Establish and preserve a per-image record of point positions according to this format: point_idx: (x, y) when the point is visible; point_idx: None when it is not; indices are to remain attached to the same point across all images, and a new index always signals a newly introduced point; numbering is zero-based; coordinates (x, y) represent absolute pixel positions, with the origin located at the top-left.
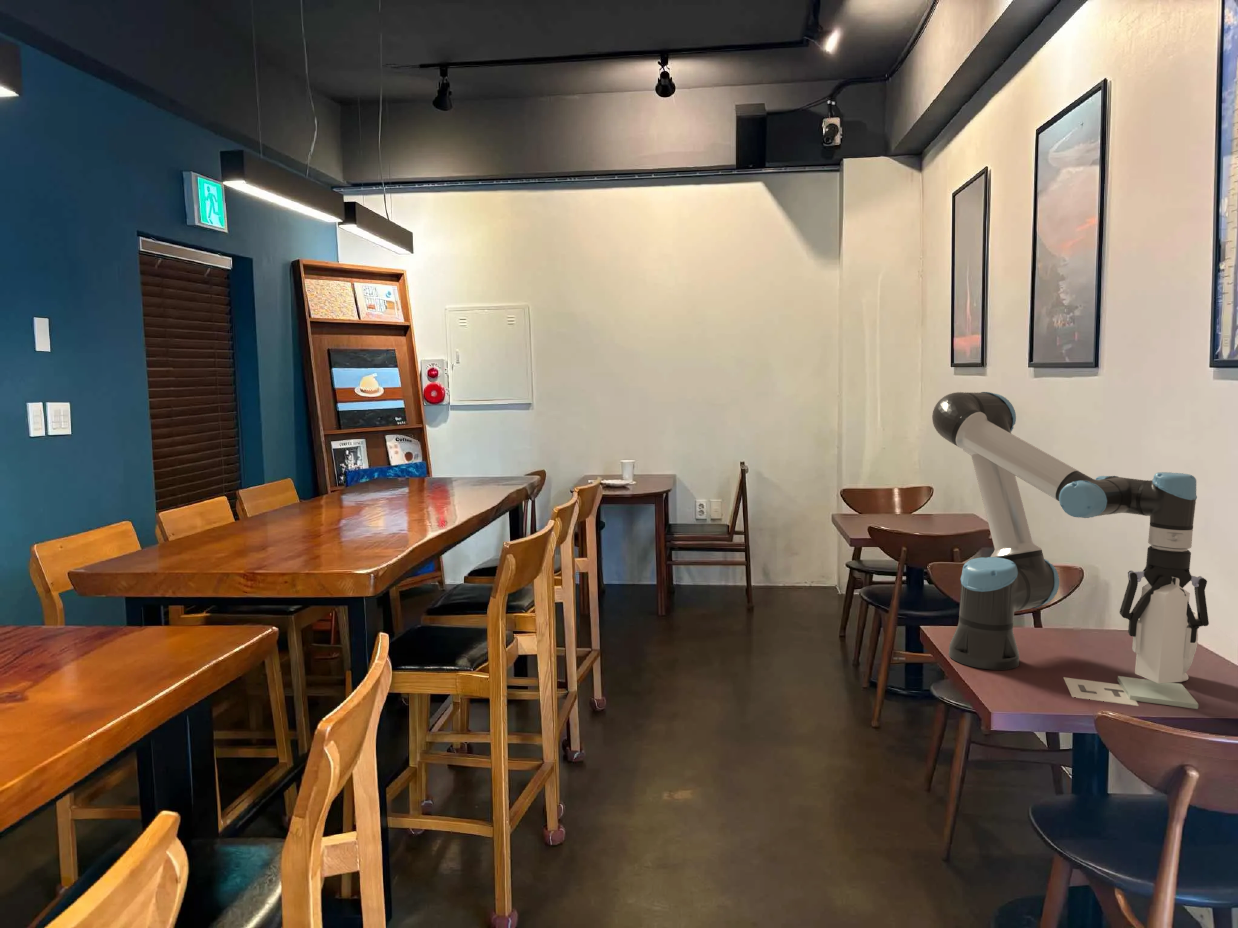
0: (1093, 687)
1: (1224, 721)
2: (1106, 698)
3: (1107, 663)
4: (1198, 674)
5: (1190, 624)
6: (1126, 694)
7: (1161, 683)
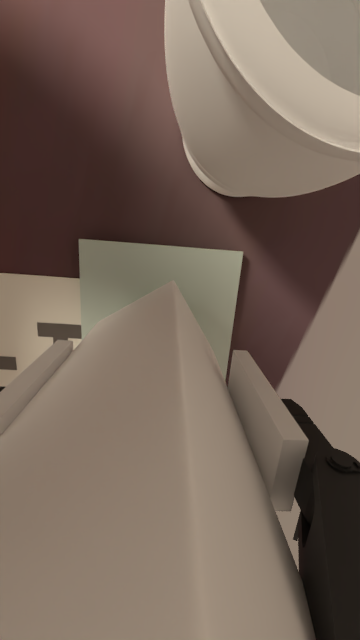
0: (11, 327)
1: None
2: None
3: (80, 42)
4: None
5: (299, 526)
6: None
7: (187, 266)
